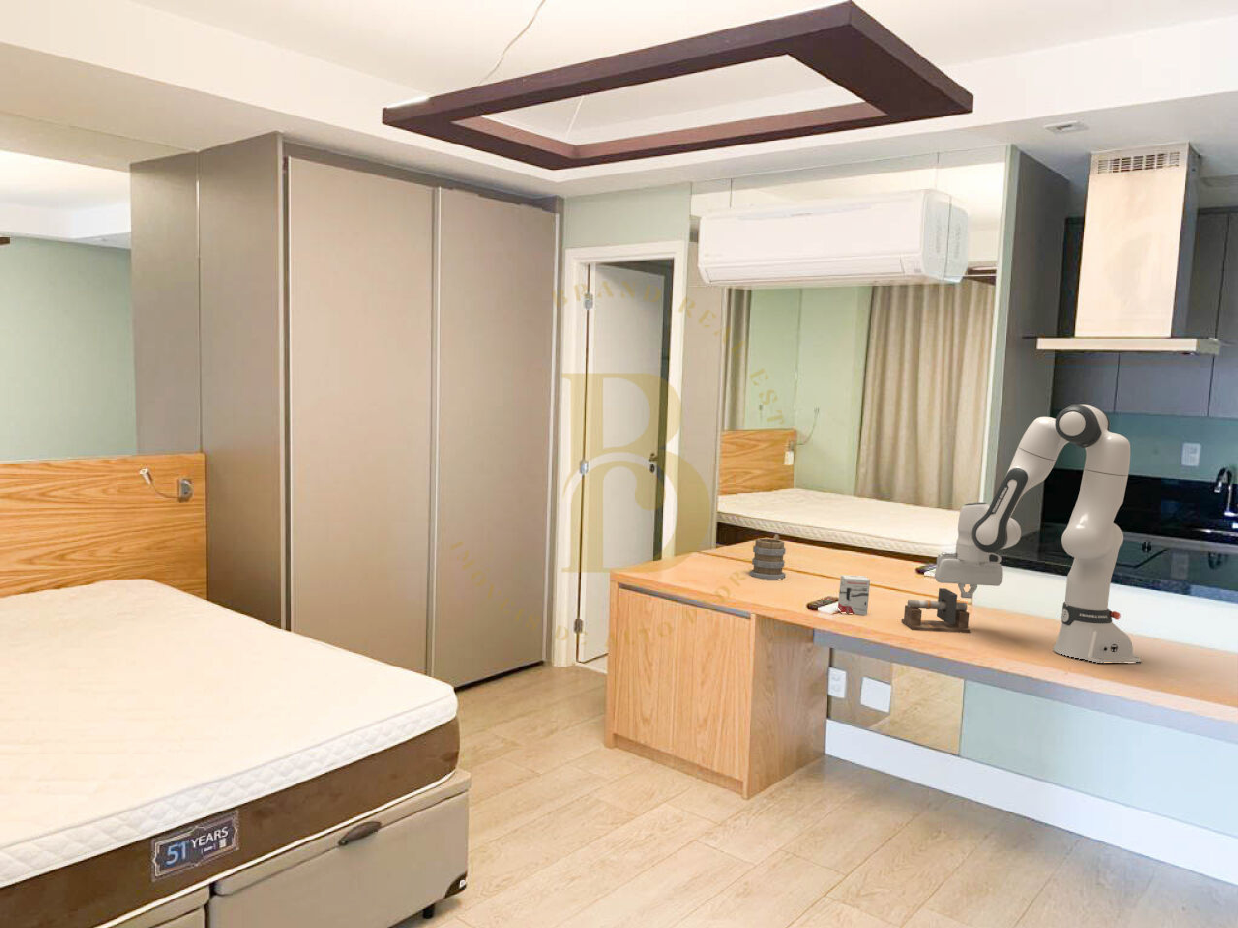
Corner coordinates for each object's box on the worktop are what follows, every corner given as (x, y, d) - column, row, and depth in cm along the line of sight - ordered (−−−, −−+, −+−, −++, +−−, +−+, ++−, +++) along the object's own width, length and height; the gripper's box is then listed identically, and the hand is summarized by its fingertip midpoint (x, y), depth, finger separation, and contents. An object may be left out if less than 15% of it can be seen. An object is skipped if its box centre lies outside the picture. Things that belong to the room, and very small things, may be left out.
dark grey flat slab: (943, 616, 291) (945, 588, 290) (954, 623, 282) (957, 594, 281) (936, 616, 291) (939, 588, 290) (948, 623, 282) (950, 594, 281)
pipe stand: (957, 624, 292) (959, 598, 291) (970, 632, 282) (973, 606, 281) (901, 621, 291) (903, 595, 290) (912, 630, 281) (915, 603, 280)
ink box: (841, 614, 296) (844, 577, 295) (837, 610, 301) (840, 574, 300) (867, 615, 297) (870, 579, 296) (862, 611, 302) (865, 576, 301)
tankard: (778, 581, 343) (782, 541, 342) (746, 576, 349) (749, 537, 348) (792, 573, 361) (795, 535, 360) (761, 569, 367) (764, 531, 366)
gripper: (941, 553, 281) (937, 598, 282) (1007, 557, 282) (1002, 601, 283) (933, 550, 287) (929, 593, 289) (997, 553, 288) (993, 597, 290)
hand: (966, 597), depth 286 cm, fingers closed
